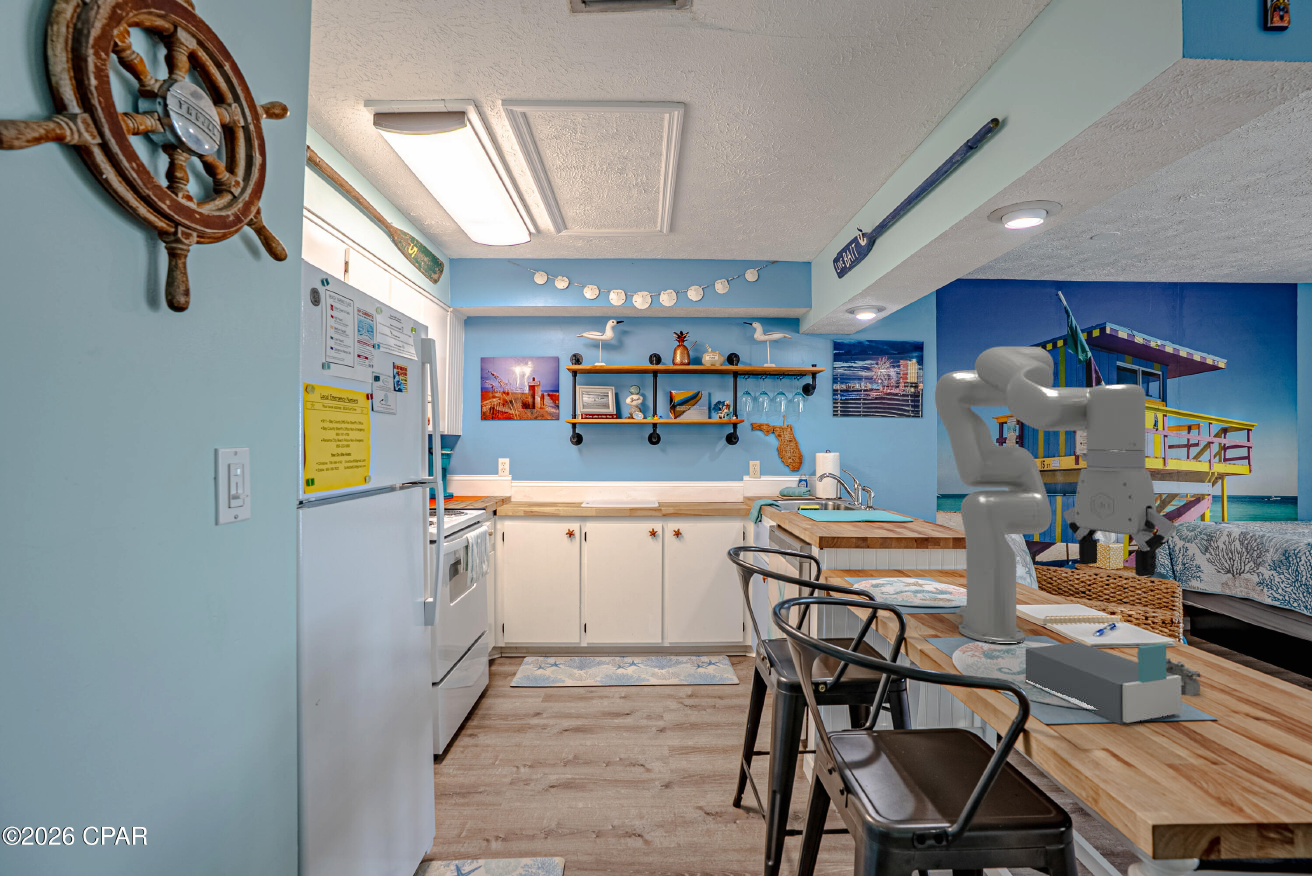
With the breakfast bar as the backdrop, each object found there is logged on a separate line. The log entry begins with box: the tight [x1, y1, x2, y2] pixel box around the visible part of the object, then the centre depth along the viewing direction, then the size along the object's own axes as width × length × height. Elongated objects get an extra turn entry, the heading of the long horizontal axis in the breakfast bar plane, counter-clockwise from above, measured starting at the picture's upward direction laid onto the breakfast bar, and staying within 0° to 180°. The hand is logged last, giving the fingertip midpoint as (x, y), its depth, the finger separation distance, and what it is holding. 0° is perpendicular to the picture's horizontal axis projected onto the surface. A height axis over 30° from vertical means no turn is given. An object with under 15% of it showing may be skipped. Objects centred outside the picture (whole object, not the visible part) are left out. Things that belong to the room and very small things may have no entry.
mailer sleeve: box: [1025, 641, 1175, 725], centre depth 98 cm, size 16×12×6 cm
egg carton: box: [1136, 651, 1202, 697], centre depth 104 cm, size 11×8×4 cm
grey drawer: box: [1122, 643, 1182, 724], centre depth 98 cm, size 16×11×11 cm
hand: (1115, 568), depth 95 cm, fingers open, 8 cm apart
